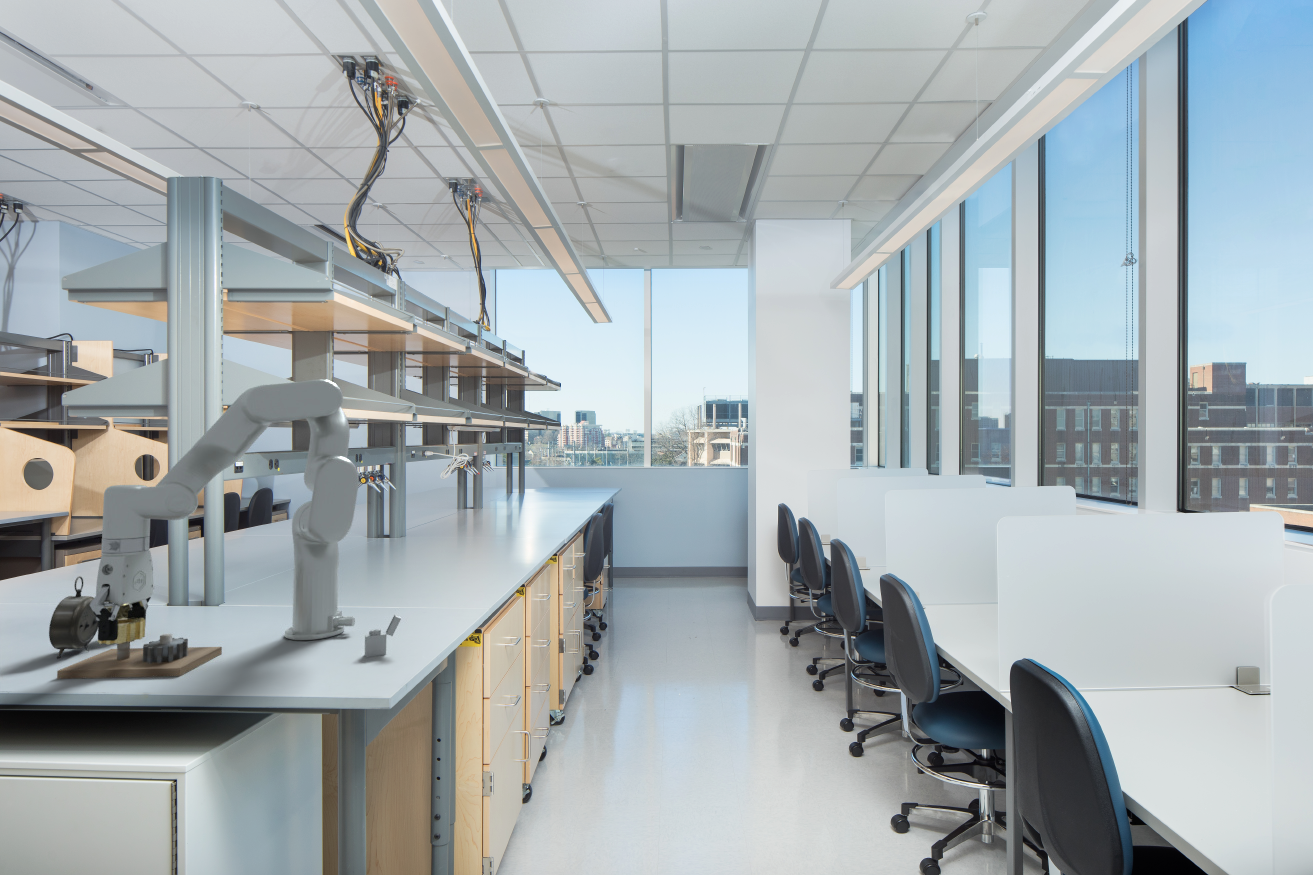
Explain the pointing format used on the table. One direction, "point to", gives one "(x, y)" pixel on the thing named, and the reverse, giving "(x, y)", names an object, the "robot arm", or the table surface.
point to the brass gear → (128, 630)
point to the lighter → (379, 639)
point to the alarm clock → (73, 622)
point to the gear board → (143, 660)
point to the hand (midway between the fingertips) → (122, 633)
